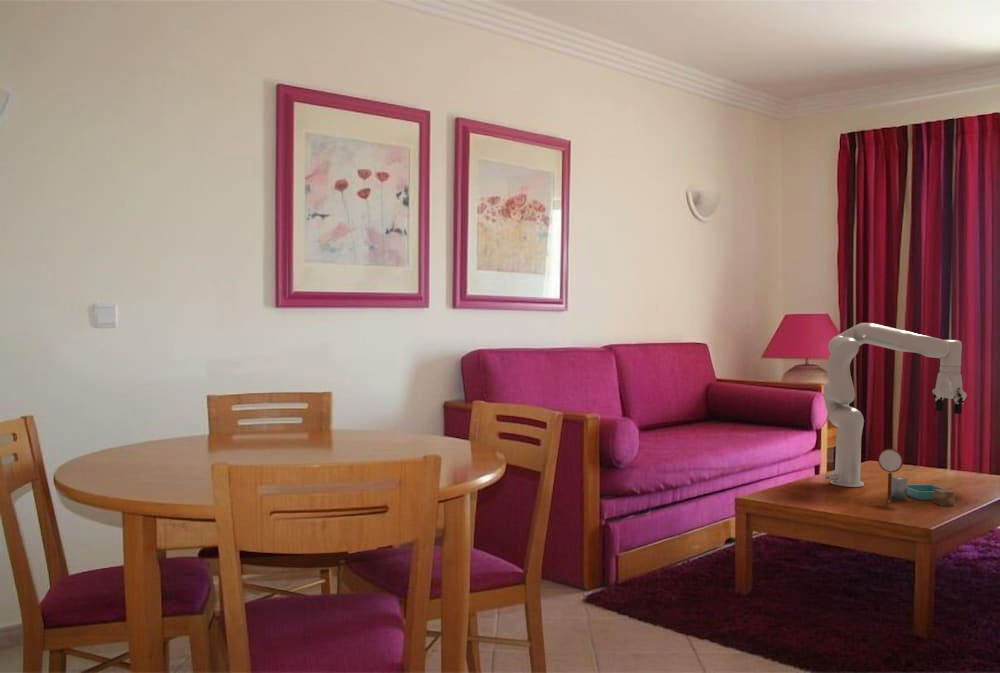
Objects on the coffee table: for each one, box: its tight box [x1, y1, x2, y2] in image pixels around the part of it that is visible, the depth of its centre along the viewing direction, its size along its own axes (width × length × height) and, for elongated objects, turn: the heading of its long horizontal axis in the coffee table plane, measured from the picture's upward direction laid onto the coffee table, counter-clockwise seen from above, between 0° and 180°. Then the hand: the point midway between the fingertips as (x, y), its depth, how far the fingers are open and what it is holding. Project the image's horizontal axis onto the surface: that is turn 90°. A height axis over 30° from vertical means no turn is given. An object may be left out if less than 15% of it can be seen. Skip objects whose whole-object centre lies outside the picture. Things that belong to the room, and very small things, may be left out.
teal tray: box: [907, 484, 944, 501], centre depth 342 cm, size 14×14×3 cm
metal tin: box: [891, 476, 909, 502], centre depth 335 cm, size 6×6×8 cm
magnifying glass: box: [877, 448, 904, 503], centre depth 328 cm, size 9×2×20 cm, turn 49°
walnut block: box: [932, 488, 956, 506], centre depth 328 cm, size 5×5×5 cm
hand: (948, 412), depth 362 cm, fingers open, 9 cm apart
